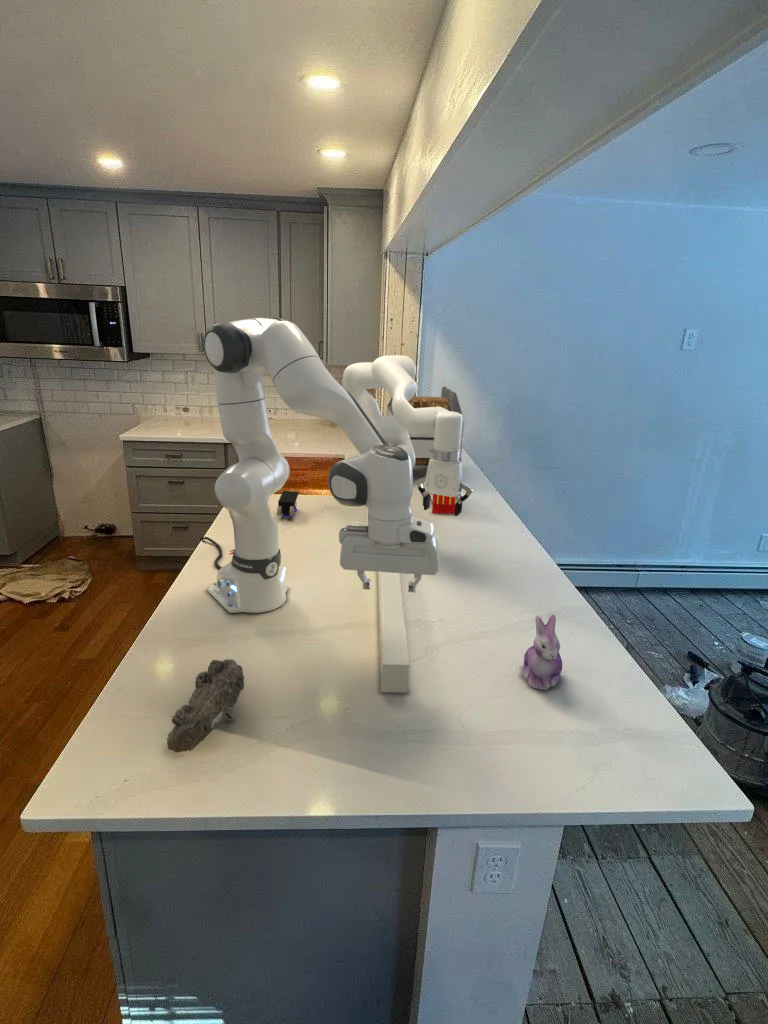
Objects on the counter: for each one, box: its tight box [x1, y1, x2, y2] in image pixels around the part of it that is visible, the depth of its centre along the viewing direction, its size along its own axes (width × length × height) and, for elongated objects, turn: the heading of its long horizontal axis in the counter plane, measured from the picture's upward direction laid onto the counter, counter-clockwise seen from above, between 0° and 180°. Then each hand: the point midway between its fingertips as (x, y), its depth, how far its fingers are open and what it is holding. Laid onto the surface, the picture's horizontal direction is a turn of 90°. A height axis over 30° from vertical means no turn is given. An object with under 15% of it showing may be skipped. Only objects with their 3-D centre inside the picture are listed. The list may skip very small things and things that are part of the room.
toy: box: [423, 482, 457, 515], centre depth 232 cm, size 12×13×30 cm
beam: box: [377, 572, 410, 694], centre depth 144 cm, size 60×5×7 cm, turn 1°
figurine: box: [522, 614, 563, 691], centre depth 121 cm, size 9×10×15 cm
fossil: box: [166, 658, 245, 754], centre depth 106 cm, size 22×10×15 cm
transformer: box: [385, 386, 465, 467], centre depth 268 cm, size 34×33×41 cm
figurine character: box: [276, 490, 300, 521], centre depth 211 cm, size 7×8×15 cm
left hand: (389, 589), depth 117 cm, fingers open, 8 cm apart
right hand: (441, 511), depth 168 cm, fingers open, 9 cm apart
